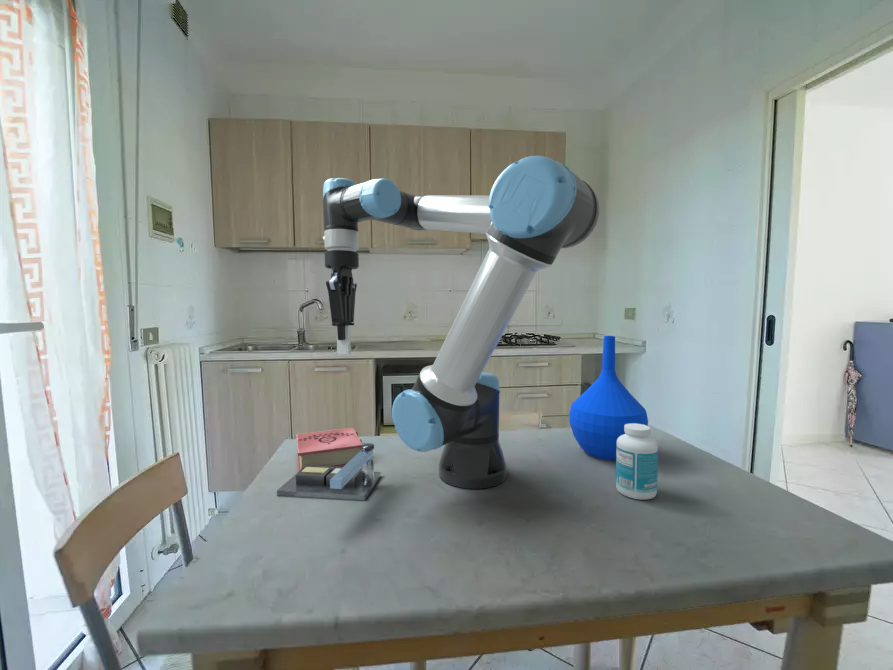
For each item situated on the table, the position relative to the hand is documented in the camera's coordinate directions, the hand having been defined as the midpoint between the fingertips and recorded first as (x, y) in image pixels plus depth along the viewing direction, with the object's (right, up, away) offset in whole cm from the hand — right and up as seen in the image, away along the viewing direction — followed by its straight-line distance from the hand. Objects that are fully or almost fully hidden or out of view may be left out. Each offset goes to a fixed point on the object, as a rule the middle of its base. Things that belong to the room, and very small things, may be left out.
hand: (343, 353), depth 92 cm
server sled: (0, -27, -9) cm, 29 cm away
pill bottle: (+62, -27, -13) cm, 69 cm away
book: (-5, -27, +7) cm, 28 cm away
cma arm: (+7, -21, -17) cm, 28 cm away
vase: (+64, -26, +8) cm, 70 cm away
